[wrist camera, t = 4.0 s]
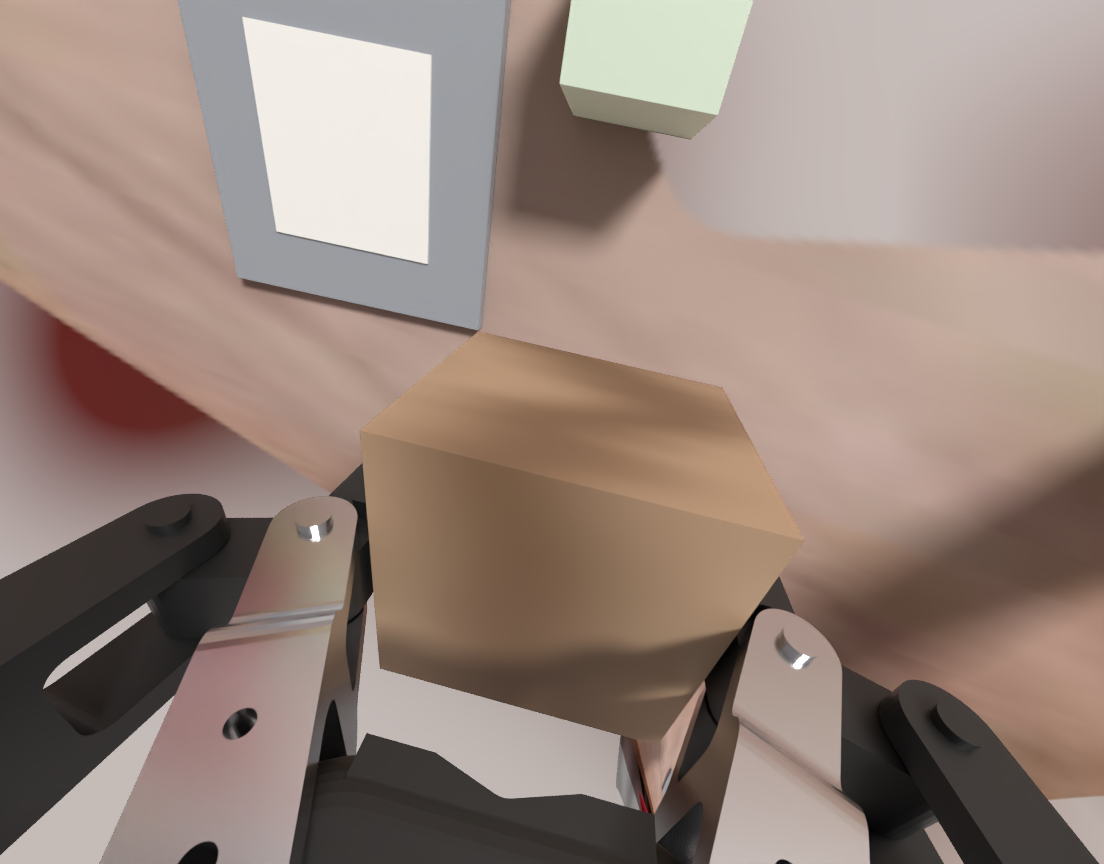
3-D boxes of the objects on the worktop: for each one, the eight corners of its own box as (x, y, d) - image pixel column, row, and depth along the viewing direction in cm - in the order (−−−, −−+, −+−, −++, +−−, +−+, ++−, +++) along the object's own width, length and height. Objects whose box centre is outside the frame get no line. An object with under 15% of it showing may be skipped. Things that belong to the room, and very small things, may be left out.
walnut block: (722, 388, 9) (803, 539, 5) (646, 559, 12) (657, 745, 8) (478, 331, 10) (359, 430, 5) (463, 512, 13) (379, 668, 8)
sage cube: (740, -33, 13) (796, -141, 9) (690, 139, 15) (717, 115, 11) (601, -60, 13) (596, -178, 9) (573, 115, 15) (559, 83, 11)
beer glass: (600, 631, 30) (591, 957, 17) (638, 573, 26) (662, 929, 13) (687, 659, 30) (743, 1001, 17) (735, 605, 26) (852, 985, 14)
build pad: (512, -23, 13) (508, -34, 13) (481, 327, 19) (477, 330, 19) (173, -90, 14) (152, -104, 13) (247, 275, 20) (236, 277, 19)
